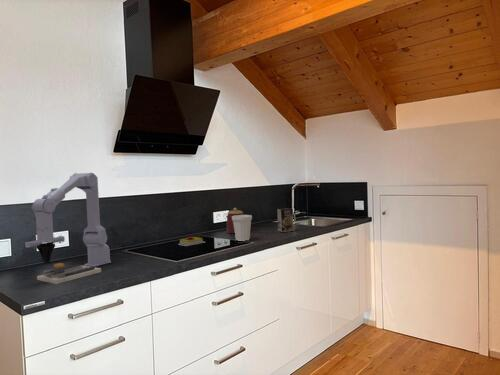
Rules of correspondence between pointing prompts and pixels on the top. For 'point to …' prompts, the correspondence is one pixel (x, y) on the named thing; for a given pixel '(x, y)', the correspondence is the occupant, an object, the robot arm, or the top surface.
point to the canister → (230, 222)
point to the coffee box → (285, 219)
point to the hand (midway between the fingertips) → (46, 262)
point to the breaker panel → (68, 274)
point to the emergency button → (191, 241)
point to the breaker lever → (58, 268)
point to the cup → (242, 226)
